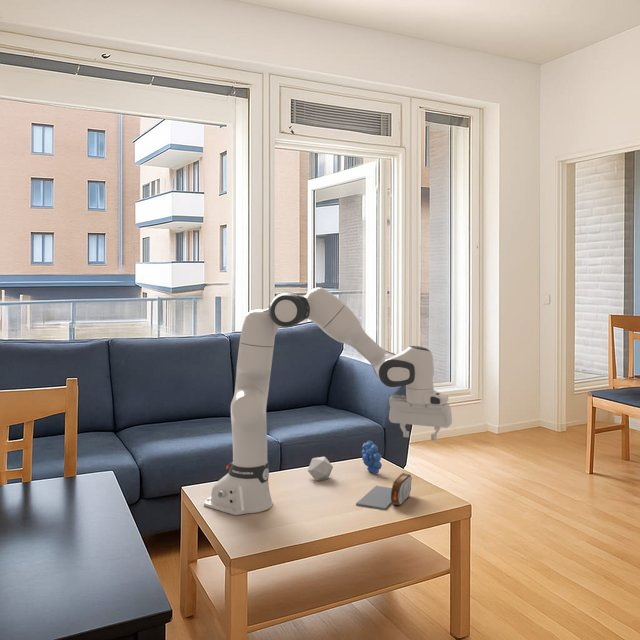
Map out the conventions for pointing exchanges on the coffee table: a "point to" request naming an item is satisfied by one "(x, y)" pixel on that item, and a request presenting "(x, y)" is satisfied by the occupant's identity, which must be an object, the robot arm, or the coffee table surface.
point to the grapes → (371, 457)
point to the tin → (401, 489)
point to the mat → (377, 498)
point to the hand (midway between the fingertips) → (419, 438)
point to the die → (320, 468)
